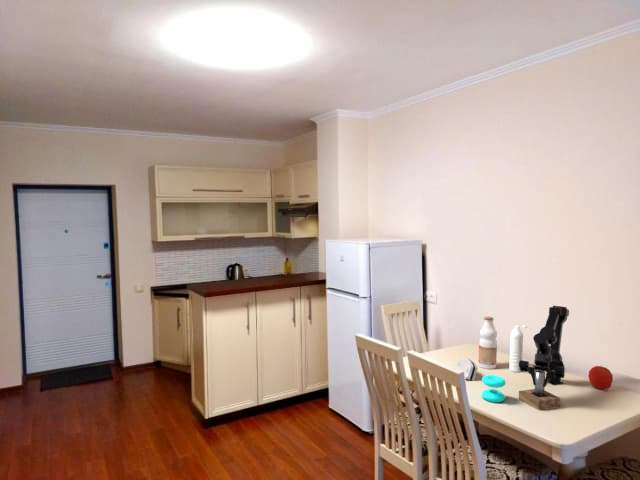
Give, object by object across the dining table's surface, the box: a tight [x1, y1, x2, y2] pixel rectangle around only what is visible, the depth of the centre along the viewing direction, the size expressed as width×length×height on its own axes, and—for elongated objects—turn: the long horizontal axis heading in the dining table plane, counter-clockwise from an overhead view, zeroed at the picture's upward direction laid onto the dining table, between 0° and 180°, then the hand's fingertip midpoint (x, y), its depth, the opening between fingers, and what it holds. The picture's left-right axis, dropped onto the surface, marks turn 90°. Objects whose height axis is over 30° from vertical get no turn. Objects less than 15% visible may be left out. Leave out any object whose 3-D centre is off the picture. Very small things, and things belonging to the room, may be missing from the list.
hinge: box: [452, 356, 478, 382], centre depth 243 cm, size 17×5×10 cm, turn 5°
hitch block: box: [518, 388, 561, 411], centre depth 208 cm, size 12×12×4 cm
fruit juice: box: [478, 316, 498, 370], centre depth 256 cm, size 9×9×28 cm
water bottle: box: [508, 324, 528, 373], centre depth 251 cm, size 9×6×25 cm
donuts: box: [481, 374, 506, 403], centre depth 212 cm, size 10×10×10 cm
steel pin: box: [534, 370, 546, 397], centre depth 207 cm, size 4×4×13 cm
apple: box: [588, 365, 614, 391], centre depth 226 cm, size 10×10×12 cm
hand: (539, 385), depth 206 cm, fingers closed on steel pin, 4 cm apart
